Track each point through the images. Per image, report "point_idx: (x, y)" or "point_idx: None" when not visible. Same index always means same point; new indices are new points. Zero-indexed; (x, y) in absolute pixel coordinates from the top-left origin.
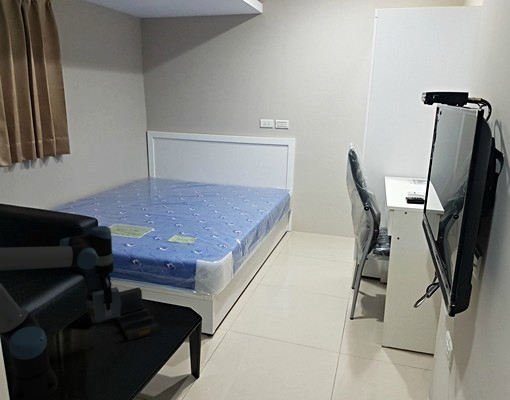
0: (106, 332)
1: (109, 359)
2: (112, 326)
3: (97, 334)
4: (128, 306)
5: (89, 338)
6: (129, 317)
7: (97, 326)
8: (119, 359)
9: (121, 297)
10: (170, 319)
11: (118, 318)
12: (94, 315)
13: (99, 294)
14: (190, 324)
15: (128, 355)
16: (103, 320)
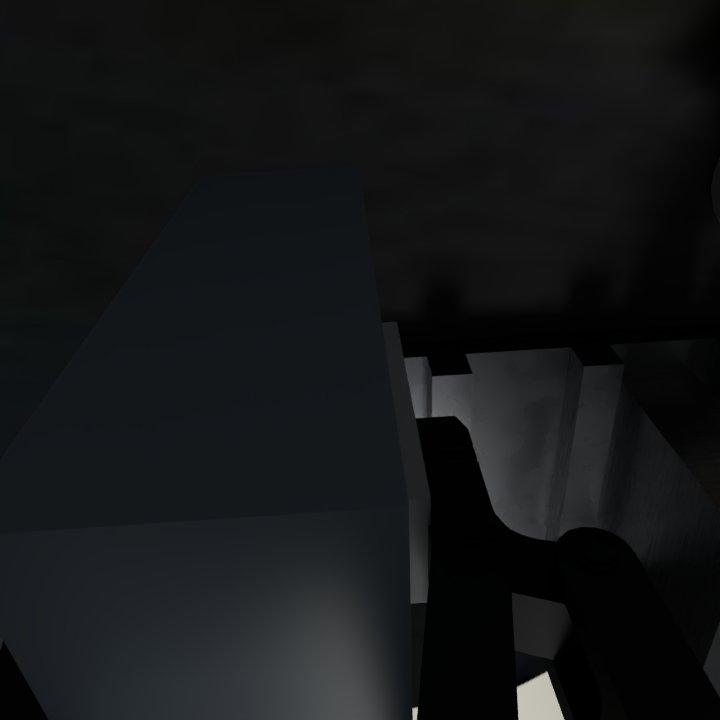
0: (509, 211)
1: (60, 168)
2: (576, 274)
3: (525, 126)
4: (651, 489)
5: (498, 36)
6: (567, 430)
7: (668, 148)
8: (39, 245)
9: None
10: (421, 613)
11: (635, 346)
12: (342, 180)
13: (71, 680)
14: None
15: (77, 316)
16: (718, 219)
